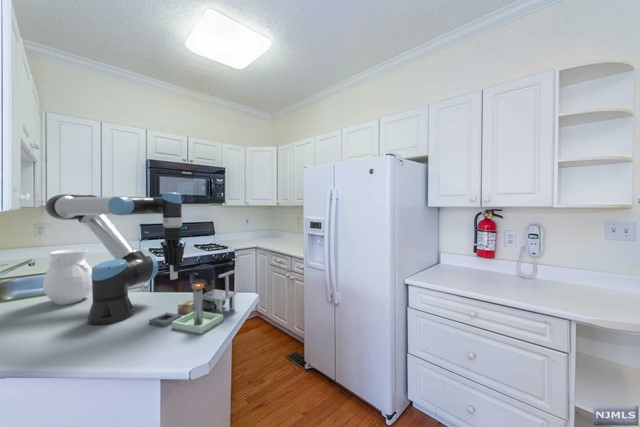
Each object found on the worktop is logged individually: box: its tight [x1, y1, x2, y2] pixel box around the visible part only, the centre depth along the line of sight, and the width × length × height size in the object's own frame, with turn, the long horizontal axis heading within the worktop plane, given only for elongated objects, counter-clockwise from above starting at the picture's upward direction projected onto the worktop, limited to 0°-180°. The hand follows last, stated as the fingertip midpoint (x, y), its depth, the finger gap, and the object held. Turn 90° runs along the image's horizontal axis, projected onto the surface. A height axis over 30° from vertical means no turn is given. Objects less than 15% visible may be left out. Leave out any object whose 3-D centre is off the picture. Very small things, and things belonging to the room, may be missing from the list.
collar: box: [148, 312, 182, 328], centre depth 107 cm, size 8×8×2 cm
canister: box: [192, 263, 216, 301], centre depth 131 cm, size 10×10×18 cm
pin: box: [191, 283, 204, 325], centre depth 104 cm, size 4×4×15 cm
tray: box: [171, 311, 224, 336], centre depth 104 cm, size 14×12×3 cm
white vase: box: [42, 248, 93, 306], centre depth 130 cm, size 19×18×25 cm
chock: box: [177, 300, 194, 314], centre depth 118 cm, size 6×5×4 cm
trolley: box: [202, 269, 237, 315], centre depth 117 cm, size 12×10×18 cm
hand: (174, 278), depth 120 cm, fingers closed
